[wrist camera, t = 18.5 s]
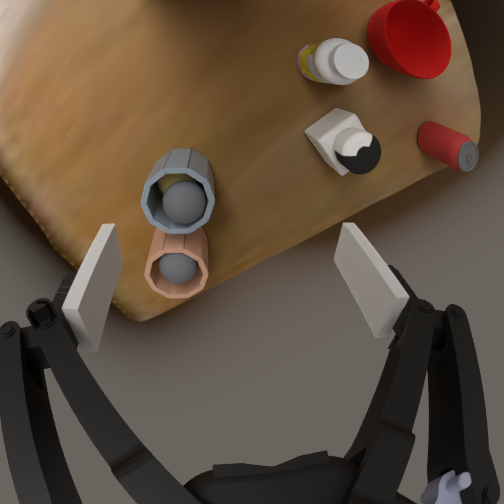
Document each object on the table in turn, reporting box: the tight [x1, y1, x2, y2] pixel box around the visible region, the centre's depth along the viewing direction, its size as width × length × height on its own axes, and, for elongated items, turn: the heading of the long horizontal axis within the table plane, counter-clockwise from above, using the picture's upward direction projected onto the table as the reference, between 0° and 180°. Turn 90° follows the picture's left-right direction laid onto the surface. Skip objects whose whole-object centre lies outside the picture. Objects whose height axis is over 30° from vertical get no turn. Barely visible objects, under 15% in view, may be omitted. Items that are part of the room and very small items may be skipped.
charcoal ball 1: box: [163, 180, 206, 224], centre depth 40 cm, size 6×6×6 cm
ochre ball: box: [157, 173, 196, 194], centre depth 43 cm, size 6×6×6 cm
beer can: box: [417, 122, 479, 172], centre depth 42 cm, size 7×7×12 cm
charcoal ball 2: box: [159, 253, 197, 284], centre depth 45 cm, size 6×6×6 cm
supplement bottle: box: [297, 38, 369, 85], centre depth 33 cm, size 7×7×13 cm
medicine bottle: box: [304, 108, 381, 176], centre depth 41 cm, size 7×7×12 cm
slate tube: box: [140, 148, 215, 234], centre depth 42 cm, size 10×10×10 cm
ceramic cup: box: [367, 0, 451, 79], centre depth 31 cm, size 13×17×10 cm
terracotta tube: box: [144, 226, 209, 298], centre depth 49 cm, size 10×10×10 cm
